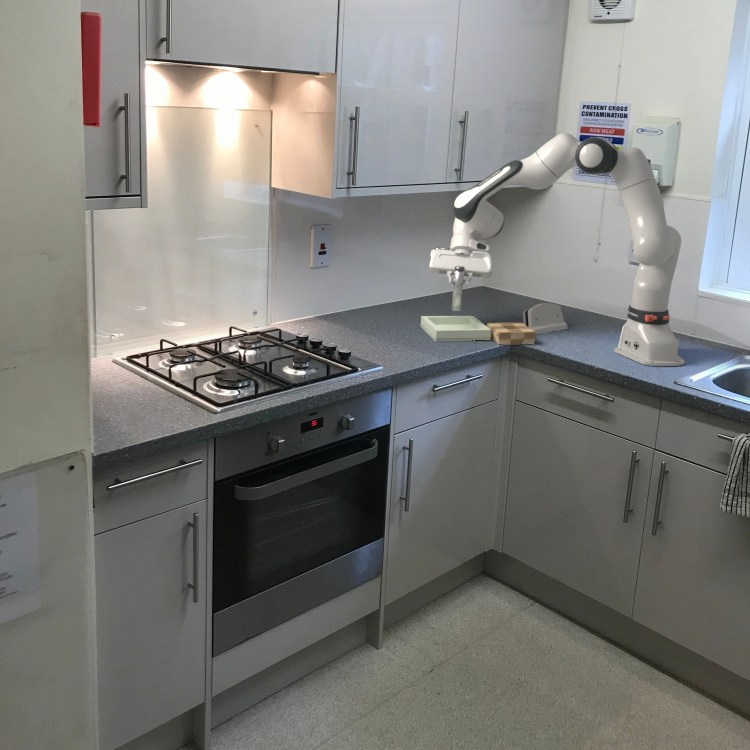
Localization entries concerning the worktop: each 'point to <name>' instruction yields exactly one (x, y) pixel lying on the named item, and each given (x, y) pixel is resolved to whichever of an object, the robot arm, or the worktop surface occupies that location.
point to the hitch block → (511, 333)
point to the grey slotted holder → (544, 318)
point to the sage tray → (455, 328)
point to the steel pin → (458, 288)
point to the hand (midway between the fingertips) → (458, 285)
